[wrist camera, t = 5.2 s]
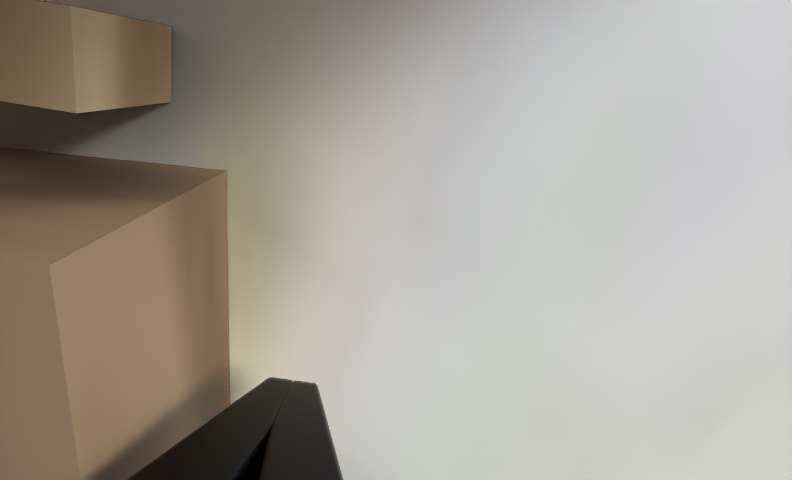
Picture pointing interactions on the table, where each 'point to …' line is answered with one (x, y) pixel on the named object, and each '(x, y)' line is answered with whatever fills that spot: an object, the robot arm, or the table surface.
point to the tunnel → (81, 58)
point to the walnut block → (108, 312)
